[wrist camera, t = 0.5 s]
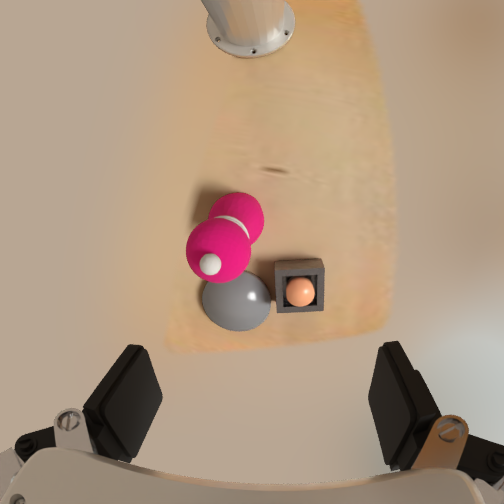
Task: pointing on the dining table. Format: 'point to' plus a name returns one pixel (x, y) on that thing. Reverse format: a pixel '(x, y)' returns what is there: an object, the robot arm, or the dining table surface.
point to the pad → (237, 302)
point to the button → (299, 290)
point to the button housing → (299, 268)
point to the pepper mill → (225, 238)
